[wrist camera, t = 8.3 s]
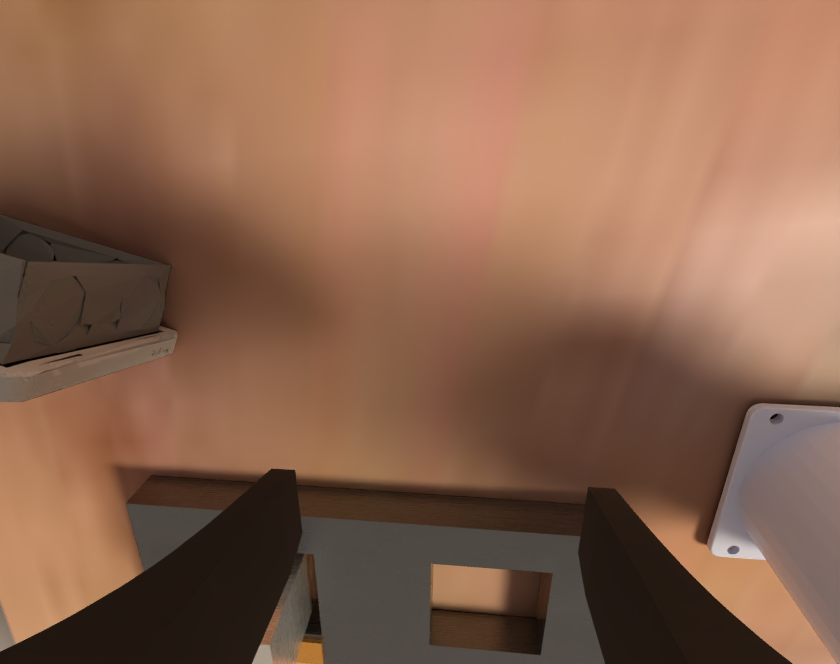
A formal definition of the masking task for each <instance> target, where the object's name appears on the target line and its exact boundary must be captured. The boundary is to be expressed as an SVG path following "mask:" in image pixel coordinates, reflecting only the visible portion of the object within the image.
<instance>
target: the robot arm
mask: <svg viewBox="0 0 840 664" xmlns="http://www.w3.org/2000/svg"><path fill="white" fill-rule="evenodd" d="M774 414H778V415H777V417H775V418H774V419H770V418H771V416H772V415H774ZM301 537H302V524H301V516H300V507H299V499H298V491H297V482H296V474H295V470H284V469H271V470H270V471H268V472H267V473H266V474H265V475H264V476H263V477H261V478H260V479H259V480H258V481H257V482H256V483H255V484H253V485H252V486H251V487H250V488H249V489H248V490H247V491H246V492H244V493H243V494H242V495H241V496H240V497H239V498H238V499H236V500H235V501H234V502H233V503H232V504H231V505H230V506H228V507H227V508H226V509H225V510H224V511H223V512H221V513H220V514H219V515H218V516H217V517H215V518H214V519H213V520H212V521H211V522H210V523H208V524H207V525H206V526H205V527H203V528H202V529H201V530H200V531H198V532H197V533H196V534H194V535H193V536H192V537H191V538H189V539H188V540H187V541H186V542H184V543H183V544H182V545H180V546H179V547H178V548H177V549H175V550H174V551H173V552H171V553H170V554H169V555H167V556H166V557H164V558H163V559H162V560H160V561H159V562H157V563H156V564H155V565H153V566H152V567H150V568H149V569H147V570H146V571H144V572H143V573H141V574H140V575H138V576H137V577H135V578H134V579H132V580H131V581H129V582H128V583H126V584H124V585H123V586H121V587H120V588H118V589H116V590H115V591H113V592H111V593H109V594H108V595H106V596H104V597H103V598H101V599H99V600H98V601H96V602H94V603H93V604H91V605H89V606H87V607H86V608H84V609H82V610H81V611H79V612H77V613H75V614H74V615H72V616H70V617H68V618H66V619H64V620H63V621H61V622H59V623H57V624H55V625H53V626H51V627H49V628H47V629H46V630H44V631H42V632H40V633H38V634H36V635H34V636H32V637H30V638H28V639H26V640H24V641H22V642H20V643H18V644H15V645H13V646H11V647H9V648H7V649H5V650H3V651H1V652H0V664H252V662H253V660H254V658H255V655H256V653H257V651H258V648H259V646H260V644H261V641H262V639H263V637H264V635H265V632H266V630H267V628H268V625H269V623H270V621H271V618H272V616H273V614H274V611H275V609H276V607H277V605H278V602H279V600H280V597H281V595H282V593H283V590H284V588H285V586H286V583H287V581H288V578H289V576H290V574H291V571H292V567H293V564H294V561H295V558H296V554H297V551H298V547H299V544H300V540H301ZM707 546H708V548H709V550H710V551H711V553H712V554H713V555H715V556H719V557H732V558H746V559H759V560H767V562H768V563H769V565H770V566H771V568H772V569H773V571H774V572H775V574H776V575H777V576H778V578H779V579H780V581H781V582H782V584H783V585H784V587H785V588H786V590H787V591H788V593H789V594H790V596H791V597H792V598H793V600H794V601H795V603H796V604H797V606H798V607H799V609H800V610H801V612H802V613H803V615H804V616H805V617H806V619H807V620H808V622H809V623H810V625H811V626H812V628H813V629H814V631H815V632H816V634H817V635H818V636H819V638H820V639H821V641H822V642H823V644H824V645H825V647H826V648H827V650H828V651H829V653H830V654H831V655H832V657H833V658H834V660H835V661H836V663H837V664H840V407H827V406H807V405H787V404H767V403H760V404H756V405H753V406H752V407H751V408H749V409H748V411H747V413H746V416H745V419H744V423H743V426H742V429H741V433H740V436H739V439H738V443H737V446H736V449H735V453H734V456H733V459H732V462H731V466H730V469H729V472H728V476H727V479H726V482H725V486H724V489H723V492H722V496H721V499H720V502H719V505H718V509H717V512H716V515H715V519H714V522H713V525H712V529H711V532H710V535H709V539H708V542H707ZM731 546H733V547H731ZM729 547H730V548H729ZM578 555H579V562H580V568H581V574H582V580H583V585H584V591H585V596H586V600H587V603H588V607H589V610H590V614H591V617H592V621H593V624H594V628H595V631H596V635H597V638H598V641H599V645H600V648H601V652H602V655H603V658H604V662H605V664H792V663H791V662H790V661H788V660H787V659H786V658H785V657H783V656H782V655H781V654H779V653H778V652H777V651H776V650H774V649H773V648H772V647H771V646H769V645H768V644H767V643H766V642H765V641H763V640H762V639H761V638H760V637H758V636H757V635H756V634H755V633H754V632H753V631H751V630H750V629H749V628H748V627H747V626H746V625H745V624H743V623H742V622H741V621H740V620H739V619H738V618H737V617H735V616H734V615H733V614H732V613H731V612H730V611H729V610H727V609H726V608H725V607H724V606H723V605H722V604H721V603H720V602H719V601H718V600H717V599H715V598H714V597H713V596H712V595H711V594H710V593H709V592H708V591H707V590H706V589H705V588H704V587H703V586H702V585H701V584H700V583H699V582H698V581H697V580H696V579H695V578H694V577H693V576H692V575H691V574H690V573H689V572H688V571H687V570H686V569H685V568H684V567H683V566H682V565H681V564H680V562H679V561H678V560H677V559H676V558H675V557H674V556H673V555H672V554H671V553H670V552H669V551H668V549H667V548H666V547H665V546H664V545H663V544H662V543H661V542H660V541H659V540H658V538H657V537H656V536H655V535H654V534H653V533H652V532H651V531H650V529H649V528H648V527H647V526H646V525H645V524H644V522H643V521H642V520H641V519H640V518H639V517H638V515H637V514H636V513H635V512H634V511H633V510H632V508H631V507H630V506H629V505H628V504H627V502H626V501H625V500H624V499H623V498H622V497H621V495H620V494H619V493H618V492H617V491H616V490H615V489H609V488H592V487H588V492H587V499H586V505H585V511H584V517H583V524H582V530H581V536H580V542H579V549H578Z"/></svg>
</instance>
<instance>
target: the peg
mask: <svg viewBox="0 0 840 664" xmlns="http://www.w3.org/2000/svg"><path fill="white" fill-rule="evenodd" d="M317 594H318V591H317V581H316V571H315V561H314V554H303V553H297V554H296V558H295V561H294V564H293V567H292V571H291V574H290V576H289V578H288V581H287V583H286V586H285V588H284V590H283V593H282V595H281V597H280V600H279V602H278V605H277V607H276V609H275V611H274V614H273V616H272V618H271V621H270V623H269V625H268V628H267V630H266V632H265V635H264V637H263V639H262V641H261V644H260V646H259V648H258V651H257V653H256V655H255V658H254V660H253V662H252V664H295V663H296V659H297V656H298V653H299V650H300V647H301V644H302V641H303V638H304V634H305V631H306V628H307V625H308V622H309V619H310V616H311V613H312V610H313V606H314V603H315V600H316V597H317Z"/></svg>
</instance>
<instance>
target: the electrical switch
mask: <svg viewBox="0 0 840 664" xmlns="http://www.w3.org/2000/svg"><path fill="white" fill-rule="evenodd" d="M27 233H29V234H27ZM44 240H45V241H47V242H49V243H50V244H51V246H50V245H49V244H48V243H47V242H45V241H44ZM6 247H7V250H6V255H5V250H4V249H5V248H6ZM54 255H55V257H56V260H57V261H53V259H54ZM116 259H119V260H121V261H118V260H116ZM170 269H171V265H167V264H163V263H160V262H157V261H153V260H150V259H147V258H143V257H140V256H137V255H134V254H130V253H127V252H124V251H120V250H117V249H114V248H110V247H107V246H104V245H100V244H97V243H94V242H90V241H87V240H84V239H80V238H77V237H74V236H70V235H67V234H64V233H60V232H57V231H54V230H50V229H47V228H44V227H40V226H37V225H34V224H30V223H27V222H24V221H20V220H17V219H14V218H10V217H7V216H4V215H1V214H0V402H24V401H27V400H30V399H33V398H36V397H39V396H42V395H46V394H49V393H52V392H55V391H58V390H61V389H64V388H67V387H70V386H74V385H77V384H80V383H83V382H86V381H89V380H92V379H95V378H98V377H101V376H105V375H108V374H111V373H114V372H117V371H120V370H123V369H126V368H129V367H133V366H136V365H139V364H142V363H145V362H148V361H151V360H154V359H157V358H160V357H163V356H166V355H169V354H172V353H173V351H174V347H175V344H176V341H177V338H178V334H177V331H175V330H172V329H169V328H165V327H162V326H160V322H161V318H162V315H163V311H164V307H165V290H166V286H167V282H168V278H169V273H170ZM73 276H76V279H77V280H76V279H75V278H74V277H73Z"/></svg>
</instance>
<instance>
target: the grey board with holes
mask: <svg viewBox="0 0 840 664" xmlns="http://www.w3.org/2000/svg"><path fill="white" fill-rule="evenodd" d="M253 484H255V483H253V482H238V481H223V480H208V479H194V478H179V477H164V476H150V477H149V478H148V479H147V481H146V482H145V483H144V484H143V485H142V486H141V487H140V488H139V489H138V491H137V492H136V493H135V494H134V495H133V496H132V497H131V498H130V499H129V500H128V502H127V503H126V506H127V510H128V513H129V517H130V521H131V524H132V528H133V531H134V535H135V539H136V542H137V546H138V549H139V553H140V557H141V560H142V564H143V567H144V571H146V570H147V569H149V568H150V567H152V566H153V565H155V564H156V563H157V562H159V561H160V560H162V559H163V558H164V557H166V556H167V555H169V554H170V553H171V552H173V551H174V550H175V549H177V548H178V547H179V546H180V545H182V544H183V543H184V542H186V541H187V540H188V539H189V538H191V537H192V536H193V535H194V534H196V533H197V532H198V531H200V530H201V529H202V528H203V527H205V526H206V525H207V524H208V523H210V522H211V521H212V520H213V519H214V518H215V517H217V516H218V515H219V514H220V513H221V512H223V511H224V510H225V509H226V508H227V507H228V506H230V505H231V504H232V503H233V502H234V501H235V500H236V499H238V498H239V497H240V496H241V495H242V494H243V493H244V492H246V491H247V490H248V489H249V488H250V487H251V486H252V485H253ZM297 491H298V499H299V507H300V516H301V524H302V537H301V540H300V544H299V547H298V551H297V553H303V554H314V561H315V571H316V581H317V591H318V600H315V603H314V606H313V610H312V613H311V616H310V619H309V622H308V625H307V628H306V631H305V634H304V638H303V641H302V644H301V647H300V650H299V653H298V656H297V659H296V662H301V663H311V664H605V662H604V658H603V655H602V652H601V648H600V645H599V641H598V638H597V635H596V631H595V628H594V624H593V621H592V617H591V614H590V610H589V607H588V603H587V600H586V596H585V591H584V585H583V580H582V574H581V568H580V562H579V555H578V549H579V542H580V536H581V530H582V524H583V517H584V511H585V505H580V504H565V503H550V502H535V501H520V500H505V499H491V498H476V497H461V496H446V495H431V494H416V493H401V492H387V491H372V490H357V489H342V488H327V487H312V486H298V485H297ZM433 564H443V565H456V566H469V567H482V568H494V569H507V570H520V571H533V572H542V576H541V583H540V590H539V597H538V605H537V612H536V618H526V617H514V616H502V615H491V614H479V613H467V612H456V611H444V610H432V589H433Z"/></svg>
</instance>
